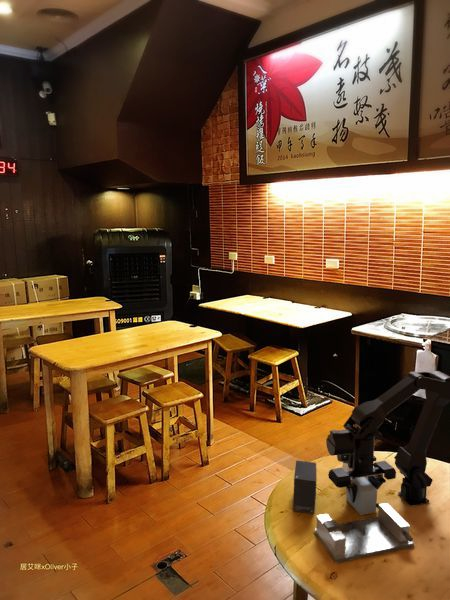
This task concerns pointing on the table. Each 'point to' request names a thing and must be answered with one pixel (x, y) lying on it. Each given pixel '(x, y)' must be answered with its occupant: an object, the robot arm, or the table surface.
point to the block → (364, 497)
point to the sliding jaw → (394, 522)
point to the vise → (356, 538)
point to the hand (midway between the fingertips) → (361, 500)
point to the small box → (304, 487)
